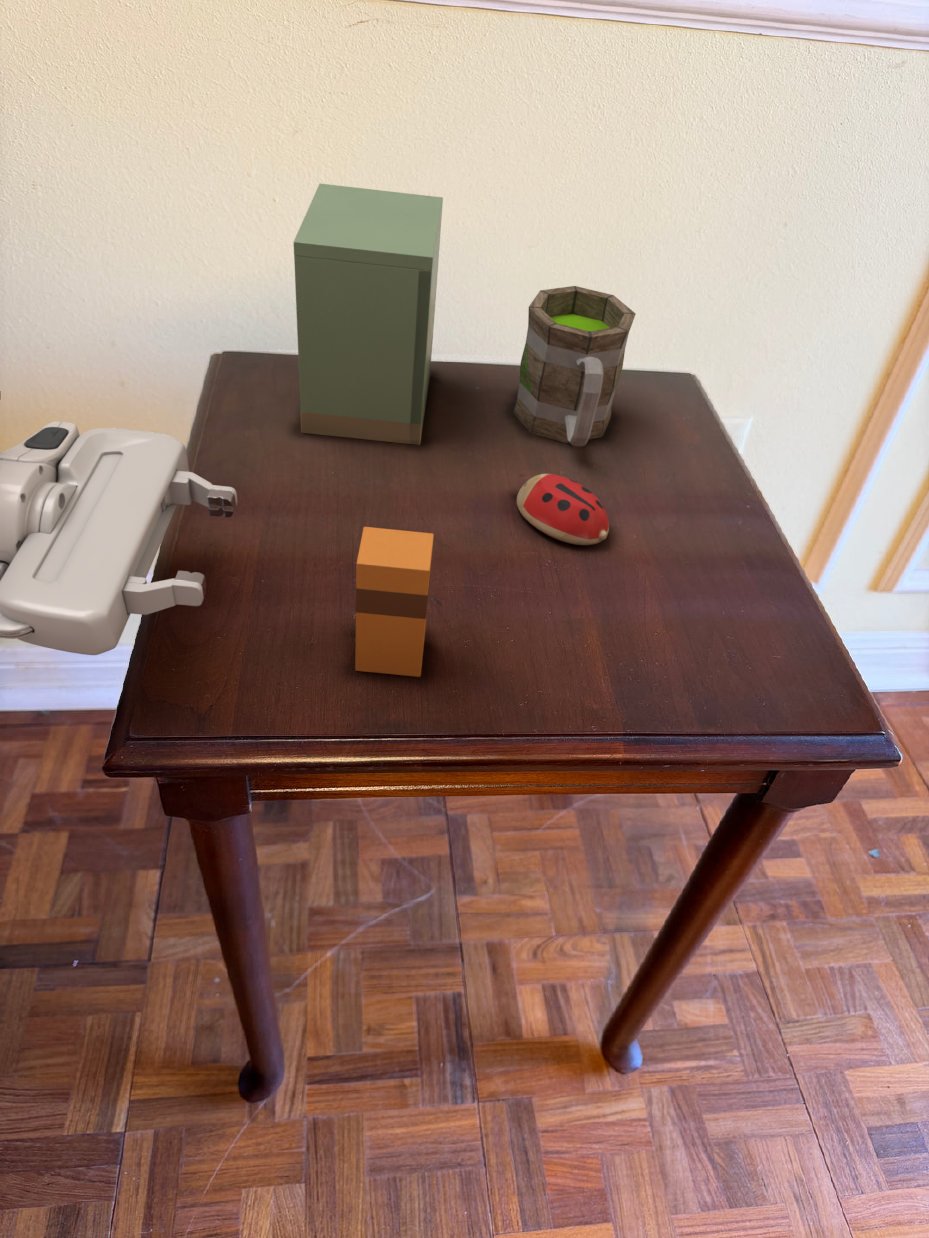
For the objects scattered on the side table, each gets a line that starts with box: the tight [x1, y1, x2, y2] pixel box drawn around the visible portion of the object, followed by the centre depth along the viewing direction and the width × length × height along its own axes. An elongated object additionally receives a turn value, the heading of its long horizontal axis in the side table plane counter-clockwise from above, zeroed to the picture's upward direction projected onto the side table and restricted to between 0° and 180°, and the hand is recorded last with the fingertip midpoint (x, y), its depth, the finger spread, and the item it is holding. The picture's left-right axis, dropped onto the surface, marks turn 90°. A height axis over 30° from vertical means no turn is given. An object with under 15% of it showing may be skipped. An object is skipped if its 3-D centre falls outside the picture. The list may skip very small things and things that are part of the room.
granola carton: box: [354, 526, 435, 678], centre depth 66 cm, size 5×4×11 cm
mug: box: [512, 285, 636, 448], centre depth 91 cm, size 16×11×12 cm
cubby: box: [293, 183, 444, 446], centre depth 88 cm, size 12×14×19 cm
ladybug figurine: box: [516, 473, 610, 546], centre depth 82 cm, size 7×10×4 cm
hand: (220, 544), depth 63 cm, fingers open, 8 cm apart
